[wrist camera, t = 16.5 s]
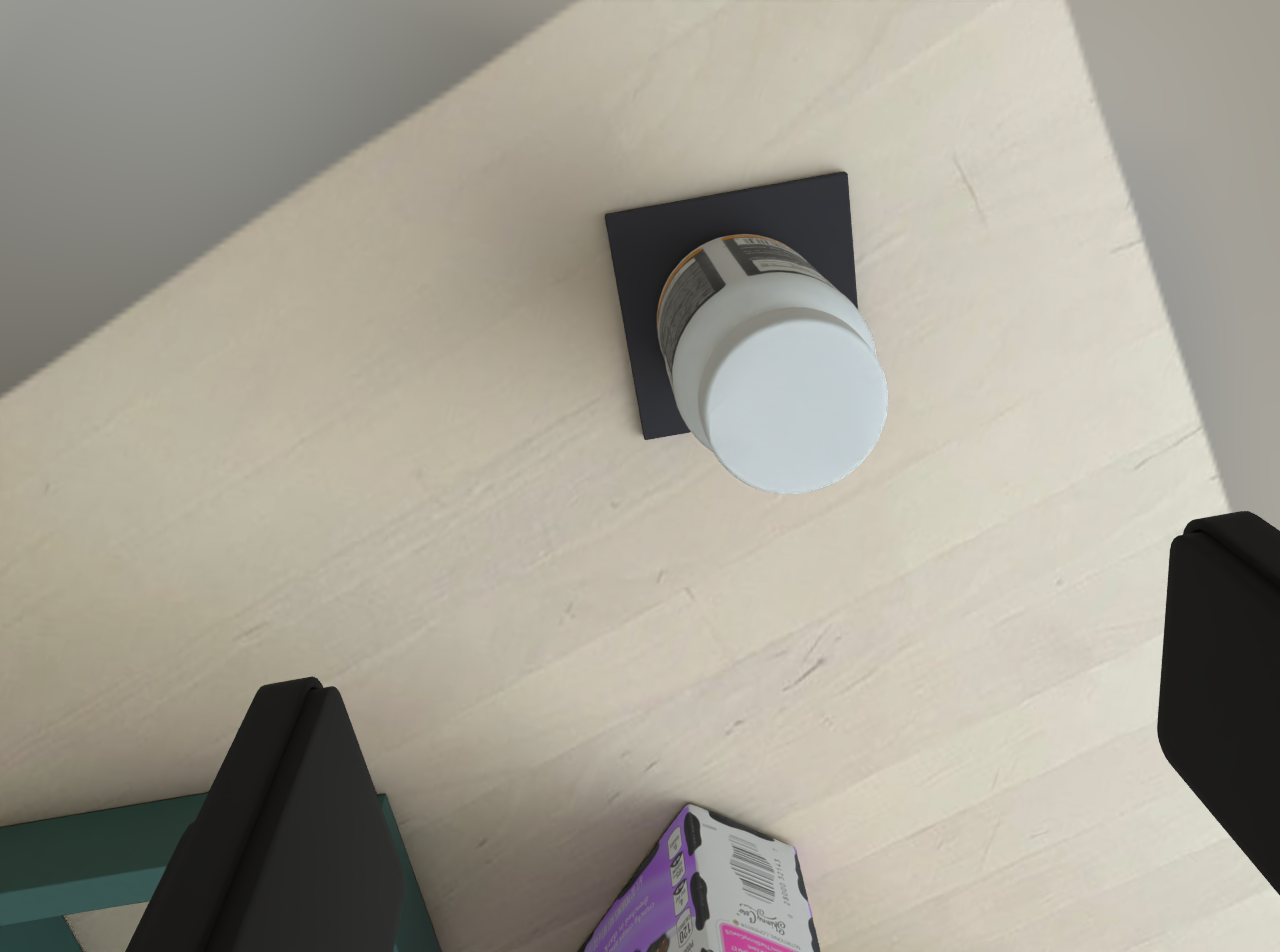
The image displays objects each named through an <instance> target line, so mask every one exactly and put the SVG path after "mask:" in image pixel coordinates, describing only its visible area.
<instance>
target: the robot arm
mask: <svg viewBox="0 0 1280 952" xmlns="http://www.w3.org/2000/svg"><path fill="white" fill-rule="evenodd" d="M1157 732H1158V738H1159V743H1160V745H1161V748H1162V751H1163V753H1164V755H1165V757H1166V759H1167V760H1168V761H1169V763H1170V764H1171V765H1172V767H1173V768H1174V769H1175V770H1176V771H1177V773H1178V774H1179V775H1180V776H1181V777H1182V779H1183V780H1184V781H1185V782H1186V783H1187V785H1188V786H1189V787H1190V788H1191V789H1192V791H1193V792H1194V793H1195V794H1196V795H1197V797H1198V798H1199V799H1200V800H1201V801H1202V803H1203V804H1204V805H1205V806H1206V807H1207V809H1208V810H1209V811H1210V812H1211V813H1212V815H1213V816H1214V817H1215V818H1216V819H1217V821H1218V822H1219V823H1220V824H1221V825H1222V827H1223V828H1224V829H1225V830H1226V831H1227V833H1228V834H1229V835H1230V836H1231V837H1232V839H1233V840H1234V841H1235V842H1236V843H1237V845H1238V846H1239V847H1240V848H1241V849H1242V851H1243V852H1244V853H1245V854H1246V855H1247V857H1248V858H1249V859H1250V860H1251V861H1252V863H1253V864H1254V865H1255V866H1256V867H1257V869H1258V870H1259V871H1260V872H1261V873H1262V875H1263V876H1264V877H1265V878H1266V879H1267V881H1268V882H1269V883H1270V884H1271V885H1272V887H1273V888H1274V889H1275V890H1276V891H1277V893H1278V894H1279V895H1280V531H1279V530H1277V529H1276V528H1275V527H1273V526H1272V525H1270V524H1269V523H1267V522H1266V521H1264V520H1263V519H1262V518H1260V517H1259V516H1257V515H1255V514H1253V513H1251V512H1249V511H1241V512H1235V513H1229V514H1223V515H1218V516H1212V517H1207V518H1201V519H1195V520H1192V521H1191V522H1189V523H1188V524H1187V526H1186V528H1185V529H1184V533H1183V535H1180V536H1177V537H1176V538H1174V540H1173V542H1172V543H1171V548H1170V558H1169V572H1168V586H1167V599H1166V613H1165V627H1164V641H1163V655H1162V669H1161V682H1160V696H1159V710H1158V724H1157ZM403 898H404V874H403V868H402V864H401V860H400V857H399V855H398V852H397V849H396V846H395V844H394V841H393V838H392V835H391V832H390V830H389V827H388V824H387V821H386V819H385V816H384V813H383V810H382V807H381V805H380V802H379V799H378V796H377V794H376V791H375V788H374V785H373V783H372V780H371V777H370V774H369V771H368V769H367V766H366V763H365V760H364V758H363V755H362V752H361V749H360V747H359V744H358V741H357V738H356V735H355V733H354V730H353V727H352V724H351V722H350V719H349V716H348V713H347V710H346V708H345V705H344V702H343V699H342V697H341V695H340V692H339V691H338V690H337V688H336V687H333V686H331V687H326V688H323V686H322V684H321V683H320V681H319V680H318V679H317V678H315V677H307V678H302V679H296V680H290V681H285V682H279V683H274V684H268V685H264V686H262V687H260V689H259V690H258V691H257V693H256V695H255V697H254V699H253V701H252V703H251V705H250V707H249V709H248V711H247V714H246V716H245V718H244V720H243V722H242V724H241V726H240V728H239V730H238V732H237V734H236V737H235V739H234V741H233V743H232V745H231V747H230V749H229V751H228V753H227V755H226V757H225V760H224V762H223V764H222V766H221V768H220V770H219V772H218V774H217V776H216V778H215V780H214V783H213V785H212V787H211V789H210V791H209V793H208V795H207V797H206V799H205V801H204V803H203V806H202V808H201V810H200V812H199V814H198V816H197V818H196V820H195V821H194V822H192V823H191V824H189V826H188V827H187V829H186V830H185V832H184V833H183V835H182V836H181V838H180V840H179V842H178V844H177V846H176V849H175V851H174V853H173V855H172V857H171V859H170V861H169V863H168V865H167V867H166V869H165V871H164V873H163V875H162V877H161V879H160V881H159V883H158V886H157V888H156V890H155V892H154V894H153V896H152V898H151V900H150V902H149V904H148V906H147V908H146V910H145V912H144V914H143V916H142V918H141V920H140V923H139V925H138V927H137V929H136V931H135V933H134V935H133V937H132V939H131V941H130V943H129V945H128V947H127V949H126V951H125V952H393V950H394V945H395V940H396V935H397V930H398V924H399V919H400V914H401V909H402V904H403Z"/></svg>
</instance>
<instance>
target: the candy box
mask: <svg viewBox="0 0 1280 952" xmlns="http://www.w3.org/2000/svg"><path fill="white" fill-rule="evenodd" d="M579 952H820V947H819V943H818V939H817V934H816V930H815V927H814V923H813V918H812V913H811V909H810V905H809V902H808V898H807V894H806V890H805V886H804V881H803V877H802V873H801V869H800V864H799V861H798V857H797V852H796V849H795V847H793V846H789V845H787V844H785V843H782V842H780V841H778V840H776V839H774V838H772V837H769V836H767V835H764V834H761V833H759V832H756V831H754V830H751V829H749V828H746V827H744V826H742V825H740V824H737V823H735V822H733V821H731V820H729V819H727V818H725V817H722V816H720V815H718V814H715V813H713V812H710V811H708V810H705V809H702V808H700V807H698V806H695V805H686V806H685V807H684V809H683V810H682V811H681V813H680V814H679V815H678V816H677V818H676V819H675V820H674V821H673V823H672V824H671V825H670V827H669V828H668V829H667V831H666V832H665V833H664V835H663V836H662V838H661V839H660V841H659V842H658V844H657V845H656V847H655V848H654V850H653V851H652V852H651V854H650V855H649V856H648V858H647V859H646V860H645V861H644V863H643V864H642V865H641V867H640V868H639V869H638V871H637V872H636V874H635V875H634V876H633V878H632V880H631V881H630V883H629V884H628V885H627V887H626V888H625V889H624V891H623V892H622V893H621V895H620V896H619V897H618V899H617V900H616V901H615V903H614V904H613V906H612V907H611V909H610V910H609V911H608V913H607V914H606V915H605V917H604V918H603V920H602V921H601V922H600V924H599V926H598V927H597V928H596V929H595V931H594V932H593V933H592V935H591V936H590V937H589V939H588V940H587V941H586V943H585V944H584V946H583V947H582V949H581V950H580V951H579Z"/></svg>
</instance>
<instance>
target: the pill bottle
mask: <svg viewBox="0 0 1280 952" xmlns="http://www.w3.org/2000/svg"><path fill="white" fill-rule="evenodd" d="M657 331H658V339H659V344H660V348H661V351H662V354H663V357H664V360H665V364H666V368H667V373H668V376H669V379H670V383H671V387H672V390H673V394H674V397H675V400H676V404H677V407H678V409H679V412H680V414H681V416H682V418H683V420H684V421H685V423H686V425H687V427H688V428H689V430H690V431H691V432H692V433H693V434H694V436H695V437H696V438H697V439H698V440H699V441H700V442H701V443H702V444H703V445H704V446H706V447H707V448H708V449H709V450H711V451H712V452H714V454H715V455H716V457H717V458H718V460H719V461H720V463H721V464H722V465H723V466H724V467H725V468H726V469H727V470H728V471H729V472H730V473H731V474H732V475H734V476H735V477H736V478H738V479H739V480H741V481H742V482H744V483H746V484H748V485H749V486H752V487H754V488H756V489H759V490H762V491H766V492H771V493H777V494H800V493H806V492H811V491H815V490H818V489H821V488H824V487H827V486H829V485H832V484H833V483H835V482H837V481H839V480H841V479H842V478H844V477H845V476H847V475H848V474H850V473H851V472H852V471H853V470H854V469H856V468H857V467H858V466H859V465H860V464H861V463H862V462H863V460H864V459H865V458H866V457H867V456H868V455H869V453H870V452H871V451H872V449H873V447H874V446H875V444H876V442H877V441H878V439H879V437H880V434H881V432H882V430H883V427H884V424H885V420H886V415H887V409H888V389H887V382H886V378H885V375H884V372H883V369H882V366H881V364H880V362H879V360H878V358H877V355H876V349H875V344H874V341H873V337H872V334H871V332H870V329H869V327H868V325H867V324H866V322H865V320H864V318H863V317H862V315H861V314H860V312H859V311H858V309H857V308H856V307H855V305H854V304H853V303H852V302H851V301H850V300H849V299H848V298H847V297H846V296H845V295H843V294H842V293H841V292H840V291H839V290H838V289H837V288H835V287H834V286H833V285H832V284H831V283H830V282H829V281H827V280H826V279H825V278H824V277H823V276H822V275H821V274H820V273H819V272H818V271H817V270H816V269H815V268H814V267H812V266H811V265H810V264H809V263H808V262H807V261H806V260H805V259H804V258H803V257H802V256H801V255H799V254H798V253H797V252H795V251H794V250H792V249H791V248H789V247H788V246H786V245H785V244H783V243H781V242H778V241H776V240H773V239H771V238H767V237H763V236H759V235H752V234H738V235H730V236H725V237H720V238H717V239H714V240H712V241H709V242H707V243H705V244H703V245H701V246H699V247H698V248H696V249H695V250H693V251H692V252H690V253H689V254H688V255H687V256H686V257H685V258H684V259H682V261H681V262H680V263H679V264H678V265H677V267H676V268H675V269H674V270H673V271H672V273H671V274H670V276H669V278H668V280H667V281H666V283H665V286H664V288H663V290H662V293H661V296H660V299H659V304H658V311H657Z"/></svg>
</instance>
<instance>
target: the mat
mask: <svg viewBox="0 0 1280 952" xmlns="http://www.w3.org/2000/svg"><path fill="white" fill-rule="evenodd" d="M605 220H606V226H607V232H608V237H609V243H610V248H611V254H612V260H613V265H614V271H615V277H616V282H617V288H618V294H619V299H620V305H621V310H622V316H623V322H624V327H625V333H626V339H627V344H628V350H629V356H630V361H631V367H632V372H633V378H634V384H635V389H636V395H637V401H638V406H639V412H640V418H641V423H642V429H643V434H644V439H645V440H648V439H654V438H660V437H666V436H671V435H677V434H683V433H689V432H691V431H690V430H689V428H688V427H687V425H686V423H685V421H684V420H683V418H682V416H681V414H680V412H679V409H678V407H677V404H676V400H675V397H674V394H673V390H672V387H671V383H670V379H669V376H668V373H667V368H666V364H665V360H664V357H663V354H662V351H661V348H660V344H659V339H658V331H657V311H658V304H659V299H660V296H661V293H662V290H663V288H664V286H665V283H666V281H667V280H668V278H669V276H670V274H671V273H672V271H673V270H674V269H675V268H676V267H677V265H678V264H679V263H680V262H681V261H682V259H684V258H685V257H686V256H687V255H688V254H689V253H690V252H692V251H693V250H695V249H696V248H698V247H699V246H701V245H703V244H705V243H707V242H709V241H712V240H714V239H717V238H720V237H725V236H730V235H738V234H752V235H759V236H763V237H767V238H771V239H773V240H776V241H778V242H781V243H783V244H785V245H786V246H788V247H789V248H791V249H792V250H794V251H795V252H797V253H798V254H799V255H801V256H802V257H803V258H804V259H805V260H806V261H807V262H808V263H809V264H810V265H811V266H812V267H814V268H815V269H816V270H817V271H818V272H819V273H820V274H821V275H822V276H823V277H824V278H825V279H826V280H827V281H829V282H830V283H831V284H832V285H833V286H834V287H835V288H837V289H838V290H839V291H840V292H841V293H842V294H843V295H845V296H846V297H847V298H848V299H849V300H850V301H851V302H852V303H853V304H854V305H855V307H856V308H857V309H858V305H857V292H856V279H855V265H854V252H853V239H852V226H851V213H850V200H849V186H848V174H847V173H846V172H839V173H833V174H828V175H822V176H816V177H811V178H805V179H800V180H794V181H788V182H783V183H777V184H772V185H766V186H760V187H755V188H749V189H744V190H738V191H732V192H727V193H721V194H716V195H710V196H704V197H699V198H693V199H688V200H682V201H676V202H671V203H665V204H660V205H654V206H648V207H643V208H637V209H632V210H626V211H621V212H615V213H609V214H605Z"/></svg>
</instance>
